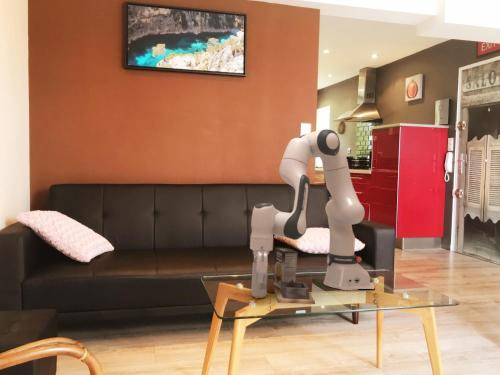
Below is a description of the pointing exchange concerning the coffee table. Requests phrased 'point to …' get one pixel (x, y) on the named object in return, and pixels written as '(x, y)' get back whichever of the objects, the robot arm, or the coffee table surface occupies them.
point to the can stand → (294, 293)
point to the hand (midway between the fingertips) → (259, 280)
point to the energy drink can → (258, 288)
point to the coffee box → (284, 266)
